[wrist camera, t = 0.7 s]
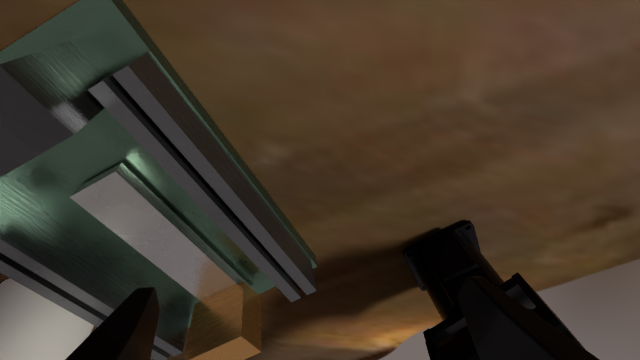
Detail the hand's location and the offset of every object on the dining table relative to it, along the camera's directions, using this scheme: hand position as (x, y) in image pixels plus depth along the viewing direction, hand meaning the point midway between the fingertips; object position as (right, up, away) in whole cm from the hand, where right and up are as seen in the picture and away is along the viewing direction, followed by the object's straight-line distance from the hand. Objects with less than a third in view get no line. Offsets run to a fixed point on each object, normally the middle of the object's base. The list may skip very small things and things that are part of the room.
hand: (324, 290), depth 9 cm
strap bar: (-10, -2, +13) cm, 17 cm away
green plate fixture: (-12, +1, +13) cm, 17 cm away
